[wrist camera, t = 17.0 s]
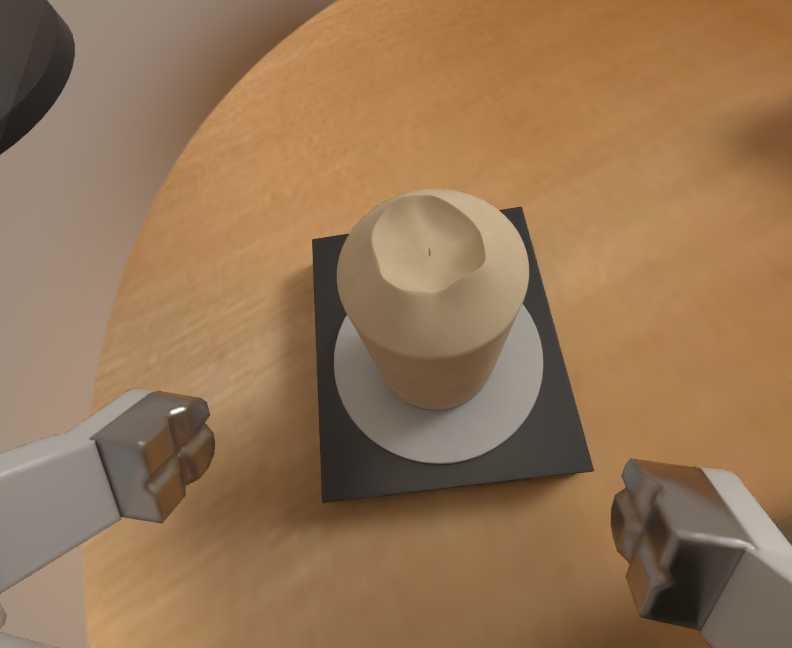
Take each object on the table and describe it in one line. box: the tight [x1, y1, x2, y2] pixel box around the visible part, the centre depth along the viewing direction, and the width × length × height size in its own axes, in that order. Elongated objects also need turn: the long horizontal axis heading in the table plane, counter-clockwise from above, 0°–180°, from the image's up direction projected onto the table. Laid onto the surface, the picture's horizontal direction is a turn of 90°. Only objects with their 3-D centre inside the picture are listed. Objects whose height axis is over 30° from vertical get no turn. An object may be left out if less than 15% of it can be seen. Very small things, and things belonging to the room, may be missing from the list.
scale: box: [312, 207, 594, 503], centre depth 21 cm, size 12×14×3 cm
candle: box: [337, 189, 529, 410], centre depth 15 cm, size 6×6×10 cm
